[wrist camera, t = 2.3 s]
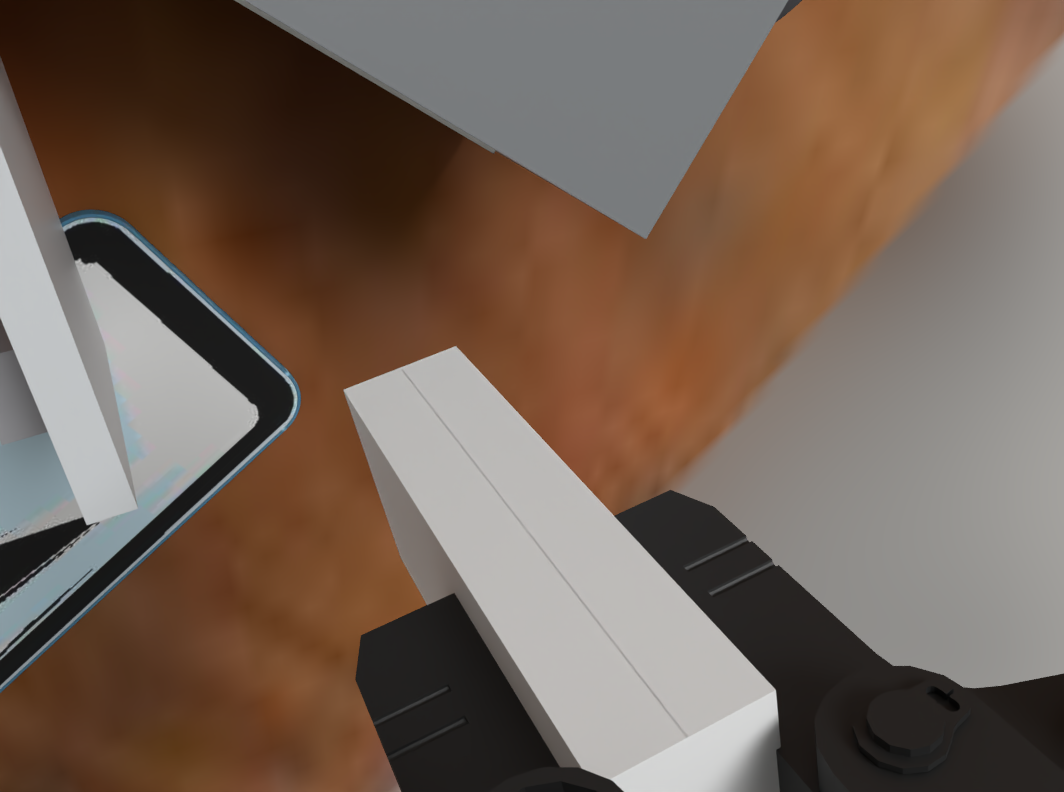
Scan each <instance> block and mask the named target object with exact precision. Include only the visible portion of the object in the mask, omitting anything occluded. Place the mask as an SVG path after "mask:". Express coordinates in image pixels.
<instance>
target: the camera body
mask: <svg viewBox="0 0 1064 792" xmlns="http://www.w3.org/2000/svg"><path fill="white" fill-rule="evenodd" d="M235 1H236V2H238V3H240V4H241V5H243V6H245V7H246V8H248V9H250V10H251V11H253V12H255V13H257V14H258V15H260V16H262V17H263V18H265V19H267V20H268V21H270V22H272V23H273V24H275V25H277V26H279V27H280V28H282V29H284V30H285V31H287V32H289V33H290V34H292V35H294V36H295V37H297V38H299V39H301V40H302V41H304V42H306V43H307V44H309V45H311V46H312V47H314V48H316V49H317V50H319V51H321V52H322V53H324V54H326V55H328V56H329V57H331V58H333V59H334V60H336V61H338V62H339V63H341V64H343V65H344V66H346V67H348V68H350V69H351V70H353V71H355V72H356V73H358V74H360V75H361V76H363V77H365V78H366V79H368V80H370V81H372V82H373V83H375V84H377V85H378V86H380V87H382V88H383V89H385V90H387V91H388V92H390V93H392V94H393V95H395V96H397V97H399V98H400V99H402V100H404V101H405V102H407V103H409V104H410V105H412V106H414V107H415V108H417V109H419V110H421V111H422V112H424V113H426V114H427V115H429V116H431V117H432V118H434V119H436V120H437V121H439V122H441V123H443V124H444V125H446V126H448V127H449V128H451V129H453V130H454V131H456V132H458V133H459V134H461V135H463V136H465V137H466V138H468V139H470V140H471V141H473V142H475V143H476V144H478V145H480V146H481V147H483V148H485V149H486V150H488V151H490V152H492V153H493V154H494V152H495V151H496V152H498V153H500V154H501V155H503V156H505V157H506V158H508V159H510V160H511V161H513V162H515V163H517V164H518V165H520V166H522V167H523V168H525V169H527V170H529V171H530V172H532V173H534V174H535V175H537V176H539V177H541V178H542V179H544V180H546V181H547V182H549V183H551V184H553V185H554V186H556V187H558V188H559V189H561V190H563V191H564V192H566V193H568V194H570V195H571V196H573V197H575V198H576V199H578V200H580V201H582V202H583V203H585V204H587V205H588V206H590V207H592V208H594V209H595V210H597V211H599V212H600V213H602V214H604V215H606V216H607V217H609V218H611V219H612V220H614V221H616V222H618V223H619V224H621V225H623V226H624V227H626V228H628V229H629V230H631V231H633V232H635V233H636V234H638V235H640V236H641V237H643V238H645V239H646V238H647V237H648V235H649V233H650V232H651V230H652V228H653V226H654V225H655V223H656V221H657V220H658V218H659V216H660V215H661V213H662V211H663V210H664V208H665V206H666V205H667V203H668V201H669V200H670V198H671V196H672V195H673V193H674V191H675V190H676V188H677V186H678V185H679V183H680V181H681V180H682V178H683V176H684V174H685V173H686V171H687V169H688V168H689V166H690V164H691V163H692V161H693V159H694V158H695V156H696V154H697V153H698V151H699V149H700V148H701V146H702V144H703V143H704V141H705V139H706V138H707V136H708V134H709V133H710V131H711V129H712V128H713V126H714V124H715V122H716V121H717V119H718V117H719V116H720V114H721V112H722V111H723V109H724V107H725V106H726V104H727V102H728V101H729V99H730V97H731V96H732V94H733V92H734V91H735V89H736V87H737V86H738V84H739V82H740V81H741V79H742V77H743V76H744V74H745V72H746V70H747V69H748V67H749V65H750V64H751V62H752V60H753V59H754V57H755V55H756V54H757V52H758V50H759V49H760V47H761V45H762V44H763V42H764V40H765V39H766V37H767V35H768V34H769V32H770V30H771V29H772V27H773V25H774V24H775V22H777V21H778V20H779V19H781V18H782V17H783V16H785V15H786V14H787V13H788V12H789V11H791V10H792V9H793V8H794V7H795V6H796V5H798V4H799V3H800V2H801V1H802V0H235Z"/></svg>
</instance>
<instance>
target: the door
mask: <svg viewBox="0 0 1064 792" xmlns="http://www.w3.org/2000/svg"><path fill="white" fill-rule="evenodd" d="M46 432H48V433H49V436H50V438H51V441H52V443H53V445H54V448H55V450H56V453H57V455H58V457H59V460H60V462H61V465H62V467H63V469H64V472H65V474H66V476H67V479H68V481H69V484H70V486H71V488H72V491H73V493H74V496H75V498H76V500H77V503H78V505H79V508H80V510H81V512H82V515H83V517H84V520H85V522H86V524H87V525H89V524H92V523H96V522H99V521H102V520H105V519H108V518H111V517H114V516H117V515H120V514H123V513H126V512H130V511H133V510H136V509H138V506H137V501H136V496H135V491H134V486H133V481H132V476H131V471H130V466H129V461H128V456H127V451H126V446H125V441H124V437H123V432H122V427H121V422H120V417H119V412H118V407H117V402H116V397H115V392H114V387H113V382H112V377H111V372H110V368H109V363H108V358H107V353H106V348H105V343H104V341H103V338H102V335H101V332H100V330H99V327H98V324H97V321H96V318H95V316H94V313H93V310H92V307H91V305H90V302H89V299H88V296H87V294H86V291H85V288H84V285H83V283H82V280H81V277H80V274H79V272H78V269H77V266H76V263H75V261H74V258H73V255H72V252H71V250H70V247H69V244H68V241H67V239H66V236H65V233H64V230H63V228H62V225H61V222H60V219H59V217H58V214H57V211H56V208H55V206H54V203H53V200H52V197H51V195H50V192H49V189H48V186H47V184H46V181H45V178H44V175H43V173H42V170H41V167H40V164H39V162H38V159H37V156H36V153H35V151H34V148H33V145H32V142H31V140H30V137H29V134H28V131H27V129H26V126H25V123H24V120H23V118H22V115H21V112H20V109H19V107H18V104H17V101H16V98H15V96H14V93H13V90H12V87H11V85H10V82H9V79H8V76H7V74H6V71H5V68H4V65H3V63H2V60H1V57H0V442H1V444H2V445H5V444H8V443H11V442H15V441H18V440H22V439H25V438H29V437H32V436H35V435H39V434H42V433H46Z"/></svg>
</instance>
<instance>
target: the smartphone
mask: <svg viewBox="0 0 1064 792" xmlns="http://www.w3.org/2000/svg"><path fill="white" fill-rule="evenodd" d="M60 222H61V225H62V228H63V230H64V233H65V236H66V239H67V241H68V244H69V247H70V250H71V252H72V255H73V258H74V261H75V263H76V266H77V269H78V272H79V274H80V277H81V280H82V283H83V285H84V288H85V291H86V294H87V296H88V299H89V302H90V305H91V307H92V310H93V313H94V316H95V318H96V321H97V324H98V327H99V330H100V332H101V335H102V338H103V341H104V343H105V348H106V353H107V358H108V363H109V368H110V372H111V377H112V382H113V387H114V392H115V397H116V402H117V407H118V412H119V417H120V422H121V427H122V432H123V437H124V441H125V446H126V451H127V456H128V461H129V466H130V471H131V476H132V481H133V486H134V491H135V496H136V501H137V506H138V509H136V510H133V511H130V512H126V513H123V514H120V515H117V516H114V517H111V518H108V519H105V520H102V521H99V522H96V523H92V524H89V525H87V524H86V522H85V520H84V517H83V515H82V512H81V510H80V508H79V505H78V503H77V500H76V498H75V496H74V493H73V491H72V488H71V486H70V484H69V481H68V479H67V476H66V474H65V472H64V469H63V467H62V465H61V462H60V460H59V457H58V455H57V453H56V450H55V448H54V445H53V443H52V441H51V438H50V436H49V433H48V432H46V433H42V434H39V435H35V436H32V437H29V438H25V439H22V440H18V441H15V442H11V443H8V444H5V445H2V444H1V442H0V693H1V692H2V691H3V690H4V689H5V688H6V687H7V686H8V685H10V684H11V683H12V682H13V681H14V680H15V679H16V678H17V677H18V676H19V675H20V674H21V673H23V672H24V671H25V670H26V669H27V668H28V667H29V666H30V665H31V664H32V663H33V662H34V661H36V660H37V659H38V658H39V657H40V656H41V655H42V654H43V653H44V652H45V651H46V650H48V649H49V648H50V647H51V646H52V645H53V644H54V643H55V642H56V641H57V640H58V639H59V638H61V637H62V636H63V635H64V634H65V633H66V632H67V631H68V630H69V629H70V628H71V627H72V626H74V625H75V624H76V623H77V622H78V621H79V620H80V619H81V618H82V617H83V616H84V615H85V614H87V613H88V612H89V611H90V610H91V609H92V608H93V607H94V606H95V605H96V604H97V603H99V602H100V601H101V600H102V599H103V598H104V597H105V596H106V595H107V594H108V593H109V592H110V591H112V590H113V589H114V588H115V587H116V586H117V585H118V584H119V583H120V582H121V581H122V580H123V579H125V578H126V577H127V576H128V575H129V574H130V573H131V572H132V571H133V570H134V569H135V568H136V567H138V566H139V565H140V564H141V563H142V562H143V561H144V560H145V559H146V558H147V557H148V556H150V555H151V554H152V553H153V552H154V551H155V550H156V549H157V548H158V547H159V546H160V545H161V544H163V543H164V542H165V541H166V540H167V539H168V538H169V537H170V536H171V535H172V534H173V533H174V532H176V531H177V530H178V529H179V528H180V527H181V526H182V525H183V524H184V523H185V522H186V521H187V520H189V519H190V518H191V517H192V516H193V515H194V514H195V513H196V512H197V511H198V510H199V509H201V508H202V507H203V506H204V505H205V504H206V503H207V502H208V501H209V500H210V499H211V498H212V497H214V496H215V495H216V494H217V493H218V492H219V491H220V490H221V489H222V488H223V487H224V486H225V485H227V484H228V483H229V482H230V481H231V480H232V479H233V478H234V477H235V476H236V475H237V474H238V473H240V472H241V471H242V470H243V469H244V468H245V467H246V466H247V465H248V464H249V463H250V462H252V461H253V460H254V459H255V458H256V457H257V456H258V455H259V454H260V453H261V452H262V451H263V450H265V449H266V448H267V447H268V446H269V445H270V444H271V443H272V442H273V441H274V440H275V439H276V438H278V437H279V436H280V435H281V434H282V433H283V432H284V431H285V430H286V429H287V428H288V427H289V426H290V425H291V424H292V423H293V421H294V419H295V418H296V416H297V414H298V411H299V408H300V403H301V395H300V390H299V387H298V384H297V383H296V381H295V379H294V378H293V376H292V375H291V373H290V372H289V371H288V370H287V369H286V368H285V367H284V366H283V365H282V364H281V363H279V362H278V361H277V360H276V359H275V358H274V357H273V356H272V355H271V354H270V353H269V352H267V351H266V350H265V349H264V348H263V347H262V346H261V345H260V344H259V343H258V342H257V341H255V340H254V339H253V338H252V337H251V336H250V335H249V334H248V333H247V332H246V331H245V330H244V329H243V328H242V327H241V326H239V325H238V324H237V323H236V322H235V321H234V320H233V319H232V318H231V317H230V316H229V315H228V314H227V313H226V312H224V311H223V310H222V309H221V308H220V307H219V306H217V305H216V304H215V303H214V302H213V301H212V300H211V299H210V298H209V297H208V296H207V295H206V294H205V293H204V292H203V291H202V290H201V289H199V288H198V287H197V286H196V285H195V284H194V283H193V282H192V281H191V280H190V279H189V278H188V277H187V276H186V275H185V274H183V273H182V272H181V271H180V270H179V269H178V268H177V267H176V266H175V265H174V264H172V263H171V262H170V261H169V260H168V259H167V258H166V257H165V256H163V254H162V253H161V252H160V251H158V250H157V249H156V248H155V247H154V246H153V245H152V244H150V243H149V242H148V241H147V239H146V238H145V237H143V236H142V235H141V234H140V233H139V232H138V231H137V230H136V229H135V228H134V227H133V226H132V225H130V224H129V223H128V222H127V221H125V220H124V219H122V218H121V217H119V216H117V215H115V214H112V213H109V212H106V211H101V210H81V211H77V212H73V213H70V214H68V215H66V216H64V217H62V218H61V219H60Z"/></svg>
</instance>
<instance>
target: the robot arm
mask: <svg viewBox="0 0 1064 792" xmlns="http://www.w3.org/2000/svg"><path fill="white" fill-rule="evenodd" d="M344 393H345V396H346V399H347V402H348V405H349V408H350V411H351V414H352V417H353V420H354V423H355V425H356V428H357V431H358V434H359V437H360V440H361V443H362V446H363V449H364V452H365V455H366V458H367V461H368V464H369V466H370V469H371V472H372V475H373V478H374V481H375V484H376V487H377V490H378V493H379V496H380V499H381V502H382V504H383V507H384V510H385V513H386V516H387V519H388V522H389V525H390V528H391V531H392V534H393V537H394V540H395V542H396V545H397V548H398V551H399V554H400V557H401V559H402V561H403V563H404V565H405V566H406V568H407V570H408V572H409V573H410V575H411V577H412V579H413V581H414V582H415V584H416V586H417V588H418V590H419V591H420V593H421V595H422V597H423V599H424V600H425V602H426V604H427V605H426V606H424V607H422V608H420V609H418V610H415V611H413V612H411V613H409V614H407V615H405V616H402V617H400V618H398V619H396V620H394V621H392V622H389V623H387V624H385V625H383V626H381V627H379V628H376V629H374V630H372V631H370V632H368V633H365V634H363V635H361V640H360V648H359V656H358V664H357V672H356V679H355V680H356V682H357V684H358V687H359V689H360V692H361V694H362V697H363V699H364V702H365V704H366V706H367V709H368V711H369V714H370V716H371V719H372V721H373V724H374V726H375V728H376V731H377V733H378V736H379V738H380V741H381V743H382V746H383V748H384V750H385V753H386V755H387V758H388V760H389V763H390V765H391V768H392V770H393V772H394V775H395V777H396V780H397V782H398V785H399V787H400V789H401V792H1064V674H1060V675H1055V676H1049V677H1044V678H1040V679H1034V680H1029V681H1024V682H1019V683H1014V684H1009V685H1003V686H996V687H985V688H963V687H962V686H960V685H959V684H957V683H955V682H954V681H952V680H951V679H949V678H947V677H946V676H944V675H940V674H937V673H934V672H930V671H926V670H923V669H919V668H915V667H911V666H892V665H891V664H890V663H888V662H887V661H886V660H884V659H882V658H881V657H880V656H879V655H877V654H876V653H875V652H874V651H873V650H872V649H870V648H869V647H868V646H867V645H866V644H865V643H864V642H863V641H862V640H861V639H859V638H858V637H857V636H856V635H855V634H854V633H853V632H852V631H850V629H848V628H847V627H846V626H845V625H844V624H843V623H842V622H841V621H840V620H838V619H837V618H836V617H835V616H834V615H833V614H832V613H831V612H829V610H827V609H826V608H825V607H824V606H823V605H822V604H821V603H820V602H819V601H818V600H816V599H815V598H814V597H813V596H812V595H811V594H810V593H809V592H807V591H806V590H805V589H804V588H803V587H802V586H801V585H800V584H799V583H798V582H797V581H795V580H794V579H793V578H792V577H791V576H790V575H789V574H788V573H786V572H785V571H784V570H783V569H782V568H781V567H780V566H779V565H778V566H775V565H774V564H773V562H772V559H771V558H770V557H769V556H768V555H767V554H766V553H764V552H763V551H762V550H761V549H760V548H759V547H758V546H757V545H756V544H755V543H753V542H749V541H748V540H747V538H746V535H745V534H743V533H742V532H741V531H740V530H739V529H738V528H737V527H736V526H735V525H733V524H732V523H731V522H730V521H729V520H728V519H727V518H726V517H725V516H724V515H722V514H721V513H720V512H719V511H718V510H717V509H716V508H715V507H713V506H710V505H707V504H705V503H702V502H700V501H697V500H695V499H692V498H689V497H687V496H685V495H682V494H679V493H677V492H674V491H672V490H670V491H667V492H665V493H663V494H661V495H659V496H656V497H654V498H652V499H650V500H648V501H646V502H643V503H641V504H639V505H637V506H635V507H632V508H630V509H628V510H626V511H624V512H622V513H619V514H617V515H615V516H614V515H613V514H612V513H611V512H610V511H609V510H608V509H607V508H606V507H605V506H604V505H603V504H602V503H601V502H600V500H599V499H598V498H597V497H596V496H595V495H594V494H593V493H592V492H591V491H590V490H589V489H588V488H587V486H586V485H585V484H584V483H583V482H582V481H581V480H580V479H579V478H578V477H577V476H576V475H575V474H574V473H573V471H572V470H571V469H570V468H569V467H568V466H567V465H566V464H565V463H564V462H563V461H562V460H561V459H560V457H559V456H558V455H557V454H556V453H555V452H554V451H553V450H552V449H551V448H550V447H549V446H548V445H547V444H546V442H545V441H544V440H543V439H542V438H541V437H540V436H539V435H538V434H537V433H536V432H535V431H534V430H533V428H532V427H531V426H530V425H529V424H528V423H527V422H526V421H525V420H524V419H523V418H522V417H521V416H520V414H519V413H518V412H517V411H516V410H515V409H514V408H513V407H512V406H511V405H510V404H509V403H508V402H507V401H506V399H505V398H504V397H503V396H502V395H501V394H500V393H499V392H498V391H497V390H496V389H495V388H494V387H493V385H492V384H491V383H490V382H489V381H488V380H487V379H486V378H485V377H484V376H483V375H482V374H481V373H480V372H479V370H478V369H477V368H476V367H475V366H474V365H473V364H472V363H471V362H470V361H469V360H468V359H467V358H466V356H465V355H464V354H463V353H462V352H461V351H460V350H459V349H458V348H457V347H456V346H455V347H453V348H450V349H447V350H445V351H442V352H440V353H437V354H434V355H432V356H429V357H427V358H424V359H422V360H419V361H416V362H414V363H411V364H409V365H406V366H404V367H401V368H398V369H396V370H393V371H391V372H388V373H386V374H383V375H380V376H378V377H375V378H373V379H370V380H367V381H365V382H362V383H360V384H357V385H355V386H352V387H349V388H347V389H344Z"/></svg>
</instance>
